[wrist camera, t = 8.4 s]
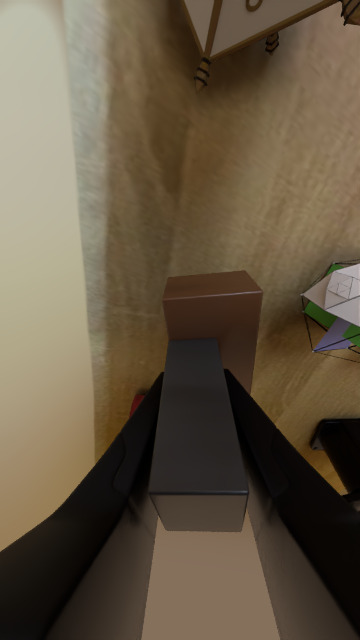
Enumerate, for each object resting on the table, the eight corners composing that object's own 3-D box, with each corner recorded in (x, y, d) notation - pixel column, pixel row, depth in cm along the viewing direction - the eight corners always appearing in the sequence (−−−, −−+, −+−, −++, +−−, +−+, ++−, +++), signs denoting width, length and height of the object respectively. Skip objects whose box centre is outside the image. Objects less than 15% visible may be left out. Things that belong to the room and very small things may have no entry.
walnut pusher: (238, 367, 15) (296, 552, 7) (180, 370, 15) (173, 548, 7) (245, 269, 11) (393, 438, 3) (167, 276, 11) (122, 444, 3)
